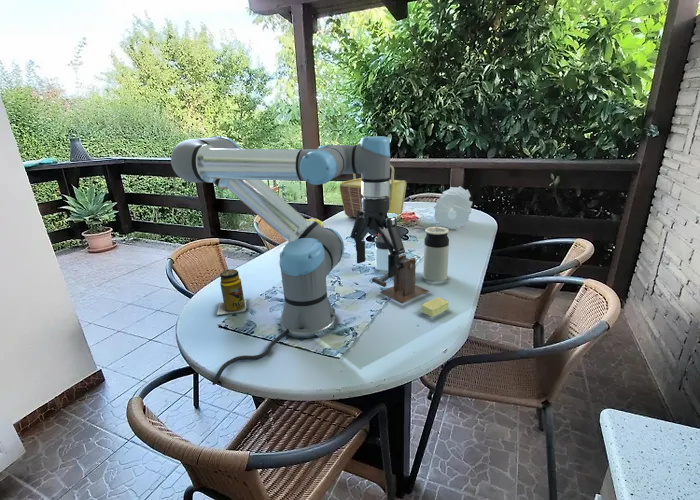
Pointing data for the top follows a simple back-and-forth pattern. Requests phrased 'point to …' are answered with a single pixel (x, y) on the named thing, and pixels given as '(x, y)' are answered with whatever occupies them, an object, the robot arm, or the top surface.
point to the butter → (434, 306)
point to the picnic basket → (353, 196)
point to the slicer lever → (385, 277)
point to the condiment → (231, 293)
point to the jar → (381, 254)
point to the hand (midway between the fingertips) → (376, 268)
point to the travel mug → (436, 254)
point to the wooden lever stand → (405, 283)
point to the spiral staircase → (453, 208)
